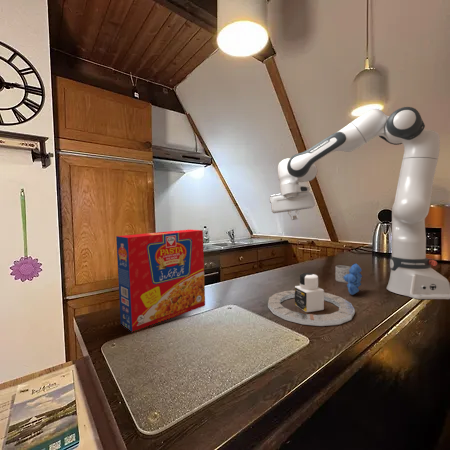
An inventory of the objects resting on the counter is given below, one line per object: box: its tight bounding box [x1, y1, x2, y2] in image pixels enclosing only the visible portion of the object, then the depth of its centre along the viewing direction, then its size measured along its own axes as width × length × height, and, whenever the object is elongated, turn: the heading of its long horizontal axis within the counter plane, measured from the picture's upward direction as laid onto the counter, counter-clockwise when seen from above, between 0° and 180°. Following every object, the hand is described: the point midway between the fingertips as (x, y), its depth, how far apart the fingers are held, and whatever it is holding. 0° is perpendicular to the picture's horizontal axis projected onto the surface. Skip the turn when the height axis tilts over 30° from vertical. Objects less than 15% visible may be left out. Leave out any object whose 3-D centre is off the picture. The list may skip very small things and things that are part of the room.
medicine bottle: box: [294, 272, 325, 313], centre depth 88 cm, size 7×7×12 cm
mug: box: [334, 264, 351, 284], centre depth 121 cm, size 10×7×7 cm
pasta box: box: [115, 229, 206, 333], centre depth 85 cm, size 28×8×28 cm, turn 135°
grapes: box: [343, 263, 363, 296], centre depth 102 cm, size 12×7×12 cm, turn 137°
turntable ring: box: [267, 289, 356, 327], centre depth 88 cm, size 28×28×2 cm
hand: (294, 219), depth 120 cm, fingers closed
